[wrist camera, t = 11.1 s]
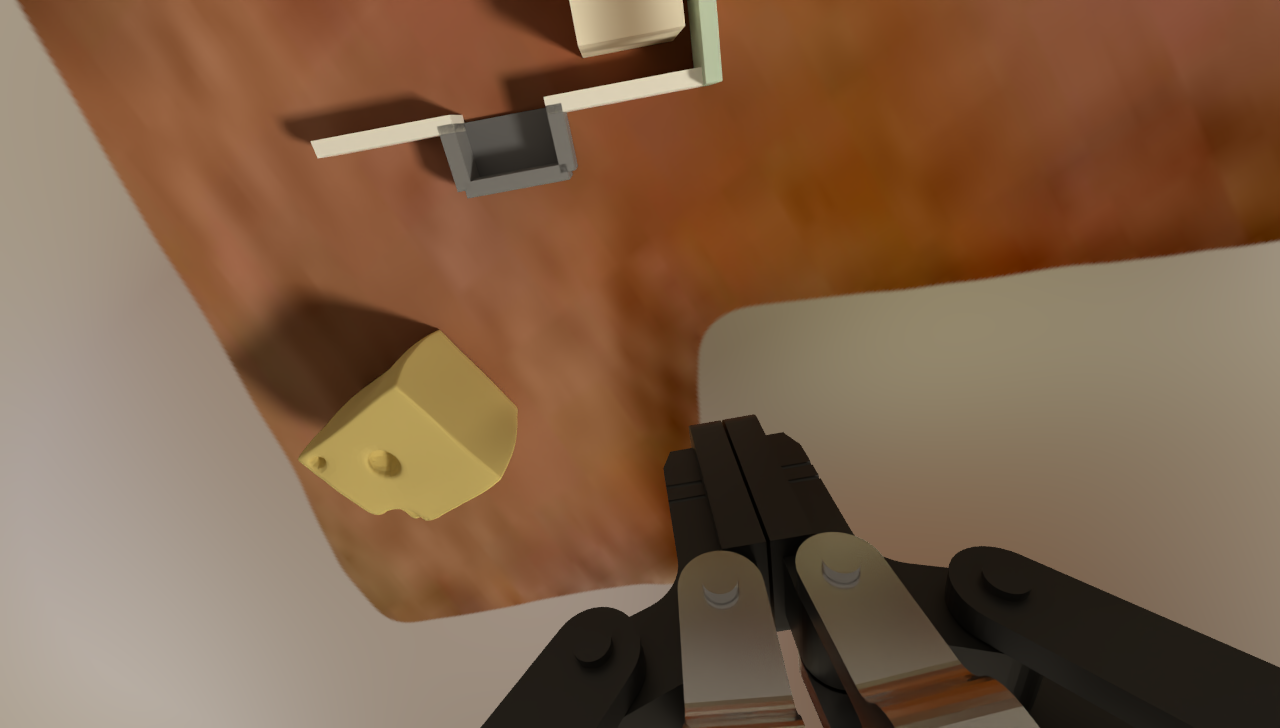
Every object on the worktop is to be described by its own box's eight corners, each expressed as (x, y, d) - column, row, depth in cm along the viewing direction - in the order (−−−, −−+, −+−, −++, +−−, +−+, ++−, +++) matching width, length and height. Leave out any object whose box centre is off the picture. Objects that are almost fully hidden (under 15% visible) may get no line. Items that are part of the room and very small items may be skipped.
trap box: (680, -255, 26) (691, -314, 23) (715, 148, 35) (727, 151, 32) (211, -159, 27) (150, -201, 23) (364, 213, 36) (337, 224, 32)
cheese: (443, 465, 46) (404, 547, 37) (351, 386, 42) (282, 458, 33) (527, 408, 44) (507, 481, 35) (439, 318, 40) (390, 376, 31)
